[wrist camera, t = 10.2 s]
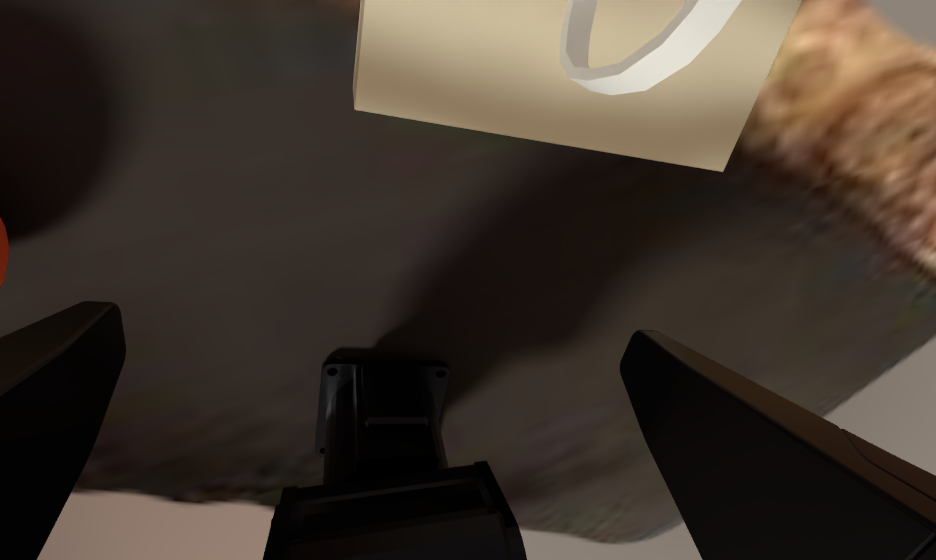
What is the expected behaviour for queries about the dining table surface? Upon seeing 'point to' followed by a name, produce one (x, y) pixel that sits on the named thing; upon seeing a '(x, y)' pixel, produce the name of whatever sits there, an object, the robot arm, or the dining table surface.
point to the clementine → (3, 251)
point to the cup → (650, 63)
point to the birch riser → (545, 82)
